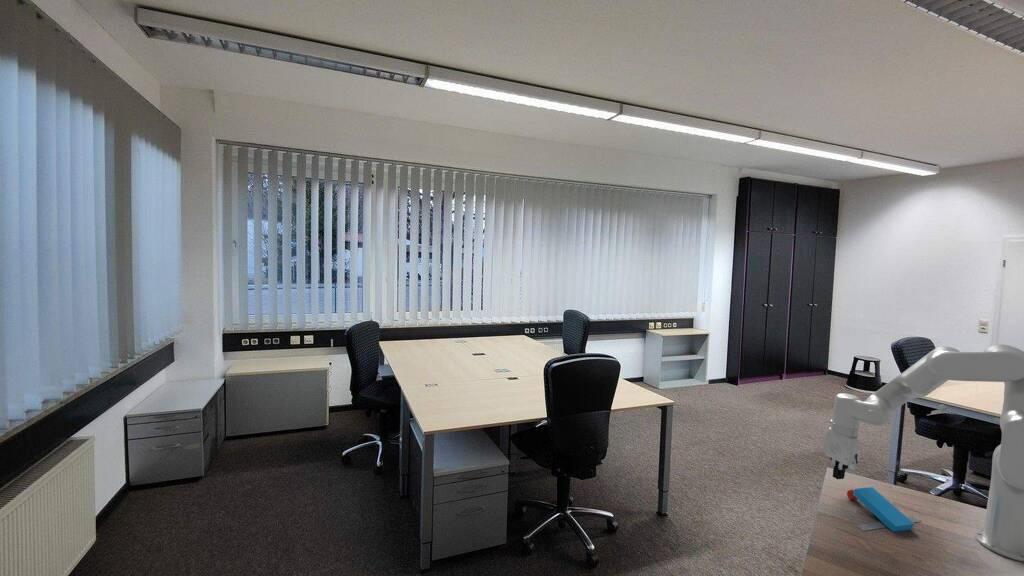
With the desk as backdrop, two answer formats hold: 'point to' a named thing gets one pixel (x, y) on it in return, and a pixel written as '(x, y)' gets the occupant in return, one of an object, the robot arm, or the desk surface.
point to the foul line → (880, 524)
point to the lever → (881, 508)
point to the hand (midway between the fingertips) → (838, 477)
